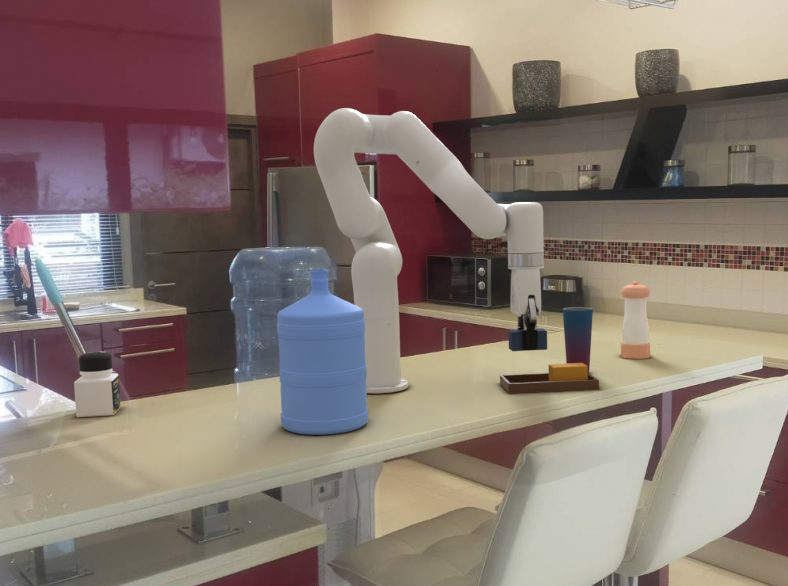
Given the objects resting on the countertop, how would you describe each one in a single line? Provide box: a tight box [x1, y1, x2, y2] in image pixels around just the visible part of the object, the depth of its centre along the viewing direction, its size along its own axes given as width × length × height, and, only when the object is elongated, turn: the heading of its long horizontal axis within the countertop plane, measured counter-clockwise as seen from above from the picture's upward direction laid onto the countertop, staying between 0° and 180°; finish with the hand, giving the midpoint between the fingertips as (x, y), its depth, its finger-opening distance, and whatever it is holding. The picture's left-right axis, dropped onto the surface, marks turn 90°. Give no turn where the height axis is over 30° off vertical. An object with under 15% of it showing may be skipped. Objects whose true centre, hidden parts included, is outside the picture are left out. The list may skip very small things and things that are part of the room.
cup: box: [562, 306, 594, 374], centre depth 198 cm, size 7×7×15 cm
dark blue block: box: [508, 328, 548, 352], centre depth 183 cm, size 8×4×4 cm, turn 95°
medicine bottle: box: [73, 351, 122, 418], centre depth 170 cm, size 7×7×12 cm
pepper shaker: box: [620, 280, 651, 360], centre depth 218 cm, size 7×7×19 cm
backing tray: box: [499, 372, 600, 394], centre depth 185 cm, size 19×10×2 cm, turn 95°
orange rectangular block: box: [548, 363, 588, 382], centre depth 185 cm, size 8×4×4 cm, turn 95°
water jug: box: [276, 269, 369, 436], centre depth 154 cm, size 16×16×28 cm
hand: (527, 346), depth 183 cm, fingers closed on dark blue block, 4 cm apart
